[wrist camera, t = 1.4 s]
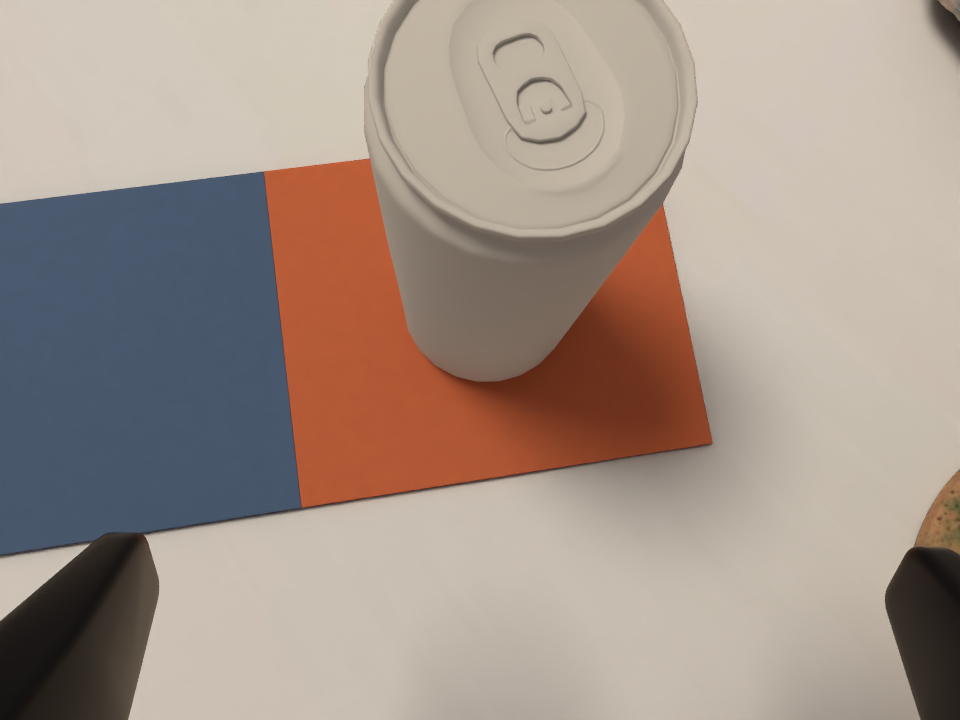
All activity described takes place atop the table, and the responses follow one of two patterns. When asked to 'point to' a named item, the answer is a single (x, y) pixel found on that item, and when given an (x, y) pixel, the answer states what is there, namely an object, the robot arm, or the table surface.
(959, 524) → the mug
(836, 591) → the table surface
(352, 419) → the sorting mat
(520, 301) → the beverage can
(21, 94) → the table surface
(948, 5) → the decorative stone
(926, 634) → the robot arm
